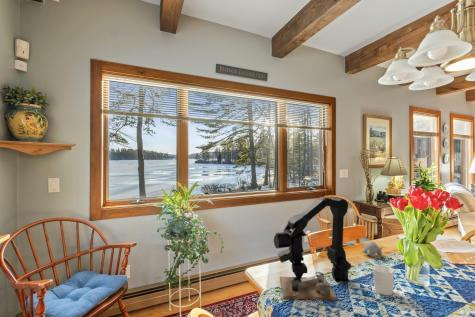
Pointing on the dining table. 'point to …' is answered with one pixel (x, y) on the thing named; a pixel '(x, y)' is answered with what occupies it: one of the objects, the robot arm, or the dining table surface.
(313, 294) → the base
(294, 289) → the lever
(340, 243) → the robot arm
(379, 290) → the white cup
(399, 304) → the dining table surface
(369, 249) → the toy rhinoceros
